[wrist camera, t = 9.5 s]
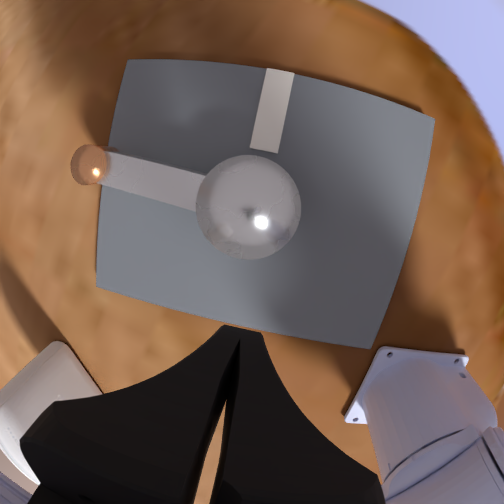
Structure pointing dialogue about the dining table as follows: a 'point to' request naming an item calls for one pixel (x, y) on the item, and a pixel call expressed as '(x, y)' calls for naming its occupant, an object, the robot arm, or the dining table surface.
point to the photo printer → (39, 396)
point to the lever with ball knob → (207, 195)
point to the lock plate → (307, 182)
